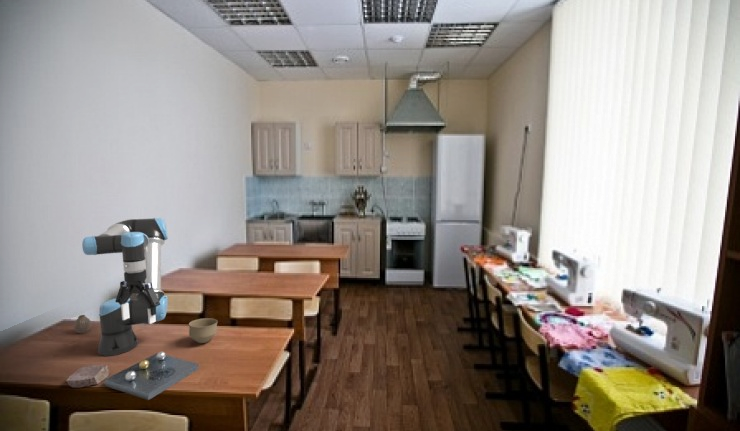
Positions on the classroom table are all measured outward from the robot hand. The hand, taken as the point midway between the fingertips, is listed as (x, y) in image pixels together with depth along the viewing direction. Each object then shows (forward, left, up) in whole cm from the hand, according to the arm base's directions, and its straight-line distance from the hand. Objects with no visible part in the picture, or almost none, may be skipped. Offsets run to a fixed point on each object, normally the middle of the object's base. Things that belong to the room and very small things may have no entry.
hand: (139, 320), depth 145 cm
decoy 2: (+8, -10, -17) cm, 21 cm away
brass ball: (+5, -3, -17) cm, 18 cm away
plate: (+10, -3, -21) cm, 23 cm away
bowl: (+4, +28, -21) cm, 36 cm away
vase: (-63, +13, -21) cm, 68 cm away
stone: (-11, -14, -21) cm, 28 cm away
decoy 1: (+5, +5, -17) cm, 18 cm away
